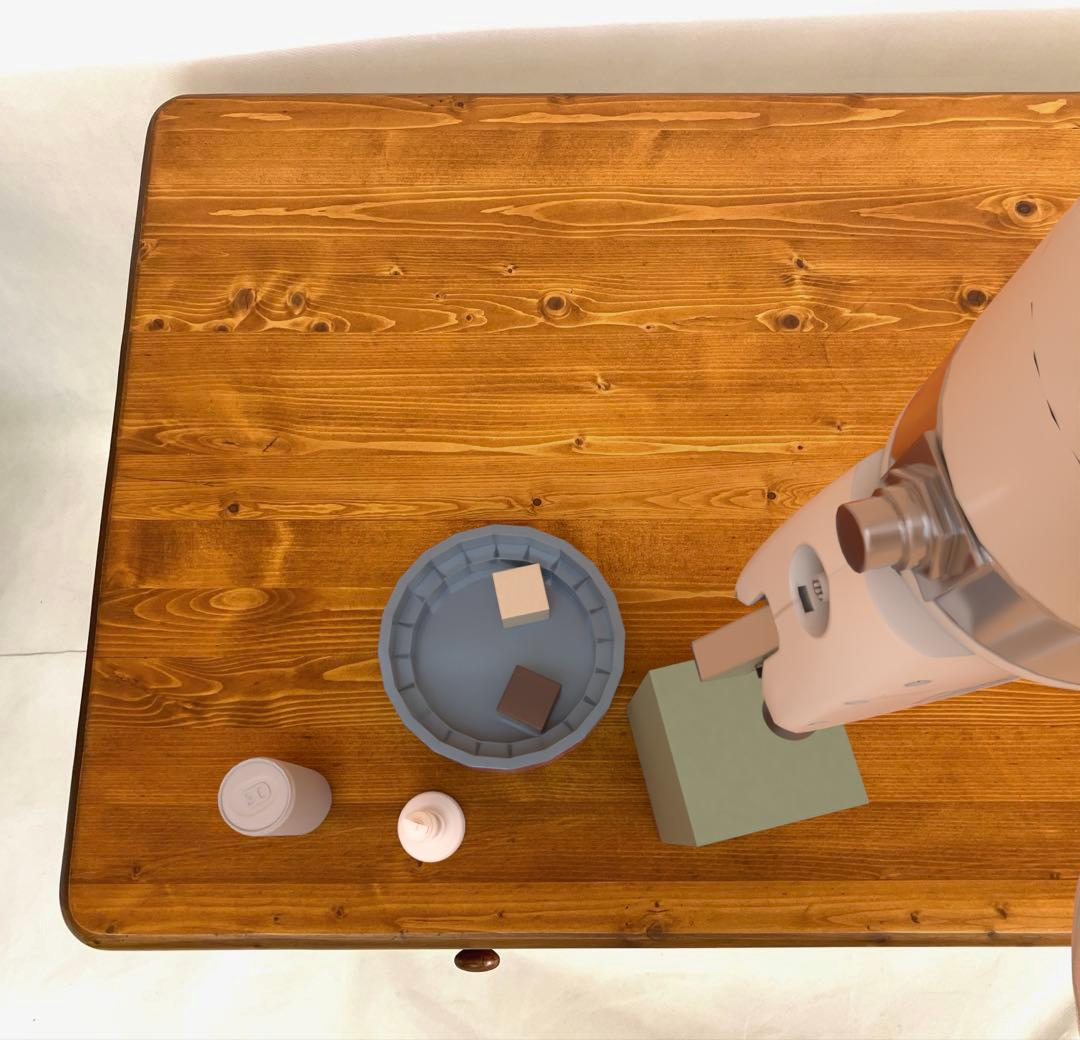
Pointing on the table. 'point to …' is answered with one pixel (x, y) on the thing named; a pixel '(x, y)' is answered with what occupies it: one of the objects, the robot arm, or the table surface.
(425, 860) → the chess piece
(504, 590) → the cream block
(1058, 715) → the table surface
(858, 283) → the table surface
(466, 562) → the bowl
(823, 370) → the table surface
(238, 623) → the table surface
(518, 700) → the walnut block
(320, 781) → the beverage can
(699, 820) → the stand
